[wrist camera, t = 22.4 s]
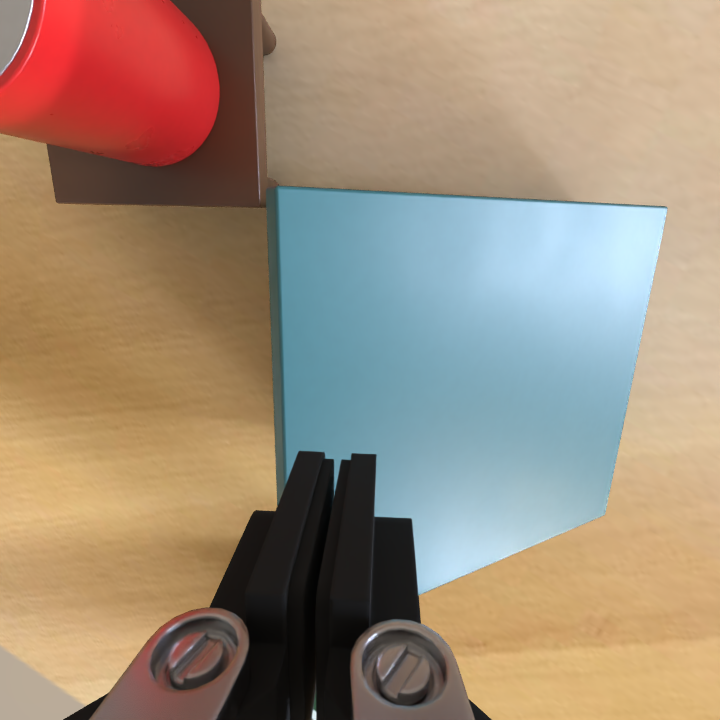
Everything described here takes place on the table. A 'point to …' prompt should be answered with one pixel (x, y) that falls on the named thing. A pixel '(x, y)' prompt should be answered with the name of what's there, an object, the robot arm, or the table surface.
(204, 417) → the table surface
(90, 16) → the soda can
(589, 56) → the table surface
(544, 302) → the lid
